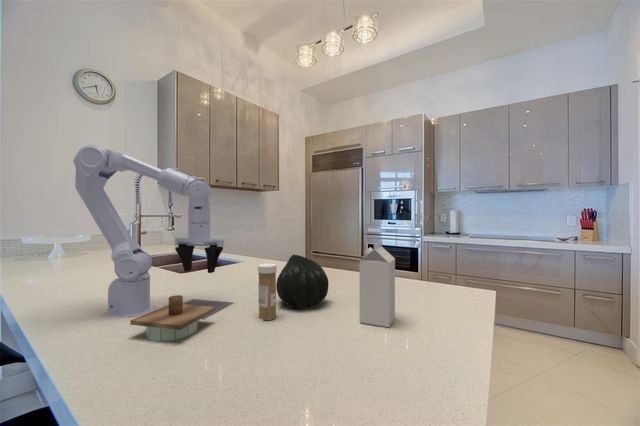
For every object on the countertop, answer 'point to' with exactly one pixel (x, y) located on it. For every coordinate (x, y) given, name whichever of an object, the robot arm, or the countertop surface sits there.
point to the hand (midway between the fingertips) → (199, 271)
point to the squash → (302, 282)
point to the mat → (216, 304)
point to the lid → (173, 315)
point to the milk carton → (377, 287)
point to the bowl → (170, 333)
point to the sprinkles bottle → (267, 291)
